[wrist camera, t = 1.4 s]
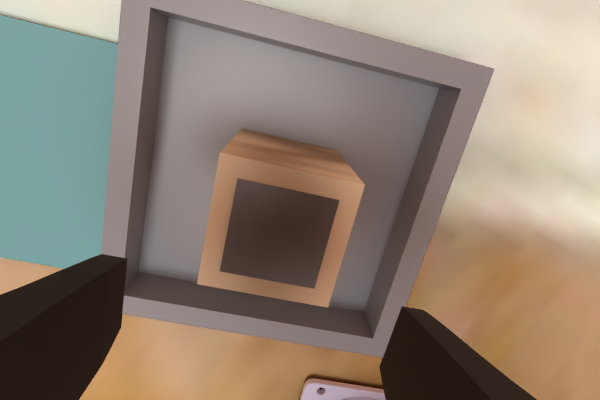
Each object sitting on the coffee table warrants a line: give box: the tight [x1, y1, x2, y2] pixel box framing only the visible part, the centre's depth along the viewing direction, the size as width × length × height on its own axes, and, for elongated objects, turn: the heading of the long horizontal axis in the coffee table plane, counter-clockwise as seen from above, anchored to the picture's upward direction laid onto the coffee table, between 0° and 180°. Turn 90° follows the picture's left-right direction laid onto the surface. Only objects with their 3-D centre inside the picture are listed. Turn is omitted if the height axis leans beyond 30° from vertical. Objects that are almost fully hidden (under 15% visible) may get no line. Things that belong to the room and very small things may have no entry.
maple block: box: [197, 129, 365, 308], centre depth 14 cm, size 4×4×6 cm
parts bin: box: [101, 0, 494, 358], centre depth 16 cm, size 14×14×2 cm
